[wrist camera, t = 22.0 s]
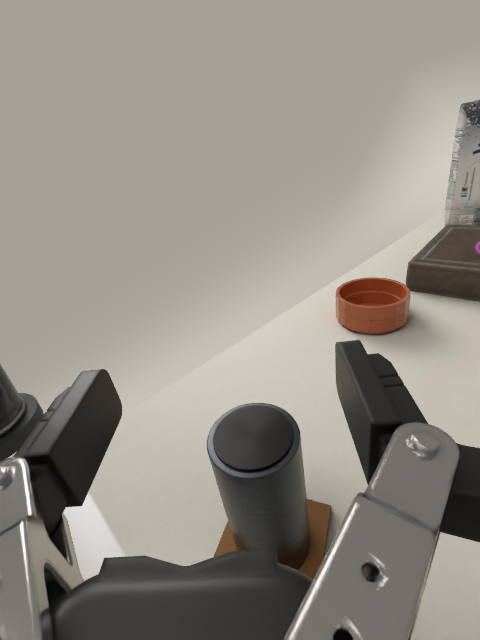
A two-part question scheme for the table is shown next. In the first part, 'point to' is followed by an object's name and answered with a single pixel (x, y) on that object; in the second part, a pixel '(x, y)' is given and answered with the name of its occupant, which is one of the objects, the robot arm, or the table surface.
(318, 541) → the cork mat
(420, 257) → the book
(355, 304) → the terracotta bowl
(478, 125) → the juice carton
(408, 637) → the robot arm
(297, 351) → the table surface
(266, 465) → the black metal canister
